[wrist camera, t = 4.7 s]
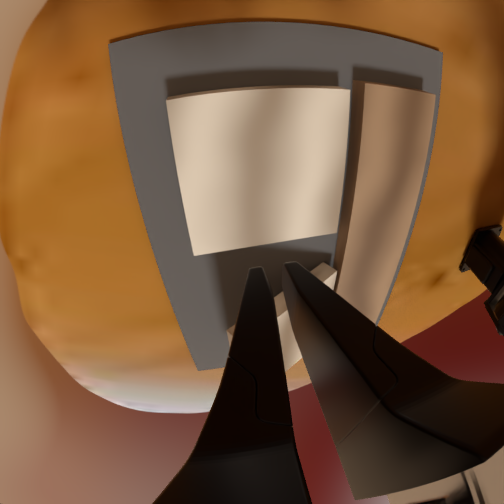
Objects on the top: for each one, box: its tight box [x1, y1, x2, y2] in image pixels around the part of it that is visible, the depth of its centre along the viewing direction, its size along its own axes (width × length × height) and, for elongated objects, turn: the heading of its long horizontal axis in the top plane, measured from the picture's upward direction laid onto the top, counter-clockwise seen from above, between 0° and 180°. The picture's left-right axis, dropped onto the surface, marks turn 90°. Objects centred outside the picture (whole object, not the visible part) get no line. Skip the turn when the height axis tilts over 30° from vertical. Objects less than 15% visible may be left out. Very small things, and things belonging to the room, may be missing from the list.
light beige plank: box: [166, 85, 350, 256], centre depth 17 cm, size 10×10×2 cm
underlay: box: [108, 22, 443, 371], centre depth 22 cm, size 22×32×1 cm
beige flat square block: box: [227, 262, 337, 372], centre depth 24 cm, size 10×10×2 cm
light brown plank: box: [333, 80, 436, 323], centre depth 22 cm, size 6×25×2 cm, turn 2°
